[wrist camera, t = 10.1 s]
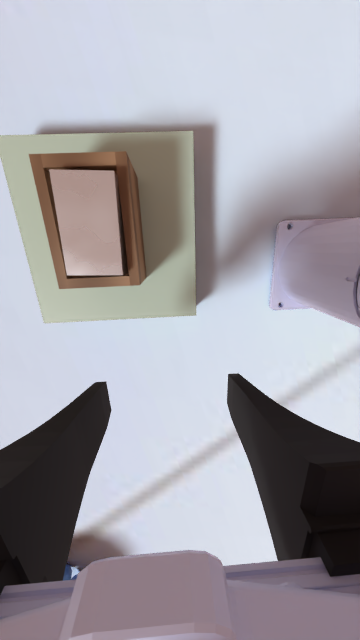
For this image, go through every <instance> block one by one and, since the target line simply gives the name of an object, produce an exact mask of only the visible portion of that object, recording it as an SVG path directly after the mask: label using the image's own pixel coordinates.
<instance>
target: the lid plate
mask: <svg viewBox="0 0 360 640" xmlns="http://www.w3.org/2000/svg"><path fill="white" fill-rule="evenodd" d="M49 172H50V178H51V184H52V190H53V196H54V202H55V208H56V214H57V220H58V226H59V232H60V237H61V243H62V249H63V255H64V261H65V267H66V273H67V275H124V274H126V273H128V269H127V256H126V245H125V236H124V228H123V219H122V211H121V202H120V194H119V185H118V176H117V174H116V173H115V171H105V170H54V169H49Z"/></svg>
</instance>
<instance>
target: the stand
mask: <svg viewBox="0 0 360 640" xmlns="http://www.w3.org/2000/svg"><path fill="white" fill-rule="evenodd" d="M118 151H126V152H127V154H128V157H129V159H130V161H131V164H132V166H133V168H134V170H135V173H136V175H137V177H138V188H139V199H140V210H141V221H142V232H143V243H144V254H145V265H146V276H147V278H146V279H145V280H144V281H143V282H142V283H141V285H136V286H115V287H95V288H74V289H59V286H58V282H57V278H56V273H55V269H54V264H53V260H52V256H51V251H50V247H49V242H48V238H47V233H46V229H45V225H44V220H43V216H42V211H41V207H40V203H39V198H38V194H37V189H36V185H35V181H34V176H33V172H32V167H31V163H30V158H29V154H46V153H82V152H118ZM0 157H1V161H2V165H3V168H4V172H5V176H6V180H7V184H8V187H9V191H10V195H11V199H12V203H13V207H14V210H15V214H16V218H17V222H18V226H19V229H20V233H21V237H22V241H23V245H24V248H25V252H26V256H27V260H28V264H29V267H30V271H31V275H32V279H33V283H34V286H35V290H36V294H37V298H38V302H39V306H40V309H41V313H42V317H43V321H44V323H60V322H79V321H98V320H117V319H136V318H155V317H174V316H193V315H196V273H195V211H194V149H193V131H165V132H123V133H82V134H40V135H0Z"/></svg>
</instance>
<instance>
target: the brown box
mask: <svg viewBox="0 0 360 640" xmlns="http://www.w3.org/2000/svg"><path fill="white" fill-rule="evenodd" d="M29 158H30V163H31V167H32V172H33V176H34V181H35V185H36V189H37V194H38V198H39V203H40V207H41V211H42V216H43V220H44V225H45V229H46V233H47V238H48V242H49V247H50V251H51V256H52V260H53V264H54V269H55V273H56V278H57V282H58V286H59V289H74V288H95V287H115V286H136V285H141V283H142V282H143V281H144V280H145V279H146V278H147V276H146V265H145V254H144V243H143V232H142V221H141V210H140V199H139V188H138V177H137V175H136V173H135V170H134V168H133V166H132V164H131V161H130V159H129V157H128V154H127V152H126V151H118V152H82V153H46V154H29ZM49 169H54V170H105V171H115V173H116V174H117V176H118V185H119V194H120V202H121V211H122V219H123V228H124V236H125V245H126V256H127V269H128V273H126V274H124V275H67V273H66V267H65V261H64V255H63V249H62V243H61V237H60V232H59V226H58V220H57V214H56V208H55V202H54V196H53V190H52V184H51V178H50V172H49Z"/></svg>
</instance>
